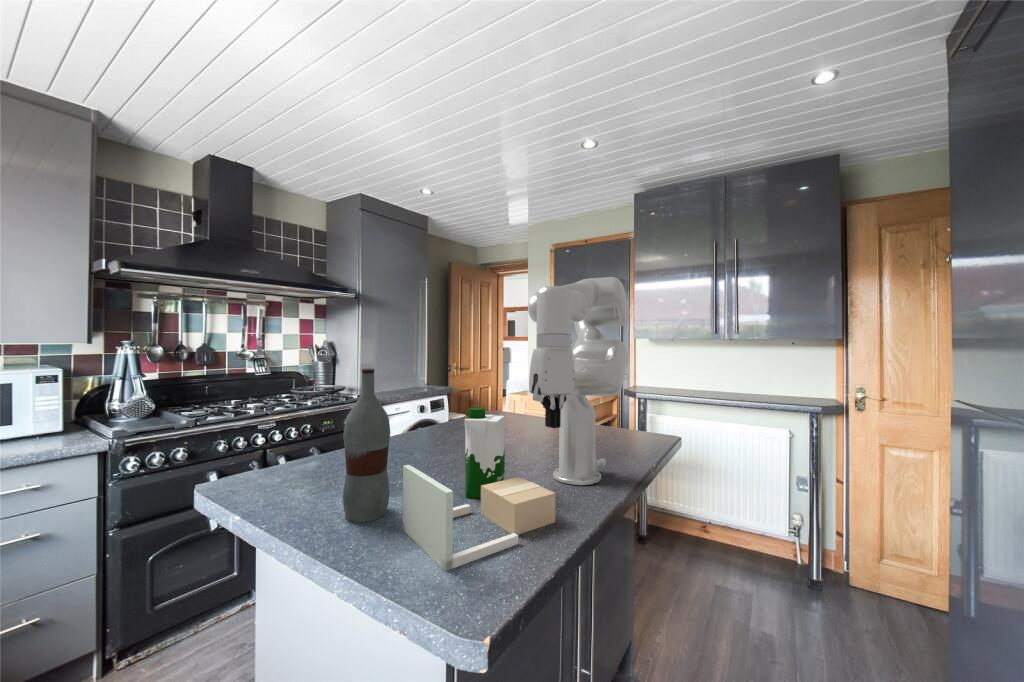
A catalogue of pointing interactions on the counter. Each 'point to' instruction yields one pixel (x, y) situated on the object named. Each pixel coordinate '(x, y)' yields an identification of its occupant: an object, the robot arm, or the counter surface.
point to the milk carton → (483, 450)
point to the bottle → (366, 456)
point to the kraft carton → (518, 505)
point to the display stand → (439, 521)
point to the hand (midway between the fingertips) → (552, 426)
